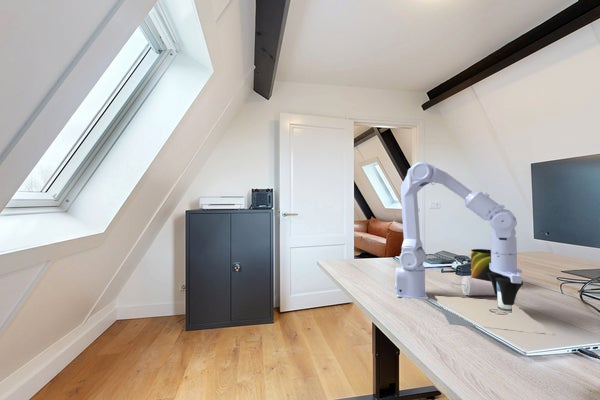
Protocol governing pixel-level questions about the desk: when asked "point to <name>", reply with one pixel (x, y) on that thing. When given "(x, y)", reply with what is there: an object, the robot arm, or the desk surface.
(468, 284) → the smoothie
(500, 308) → the marker
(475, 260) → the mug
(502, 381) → the desk surface
